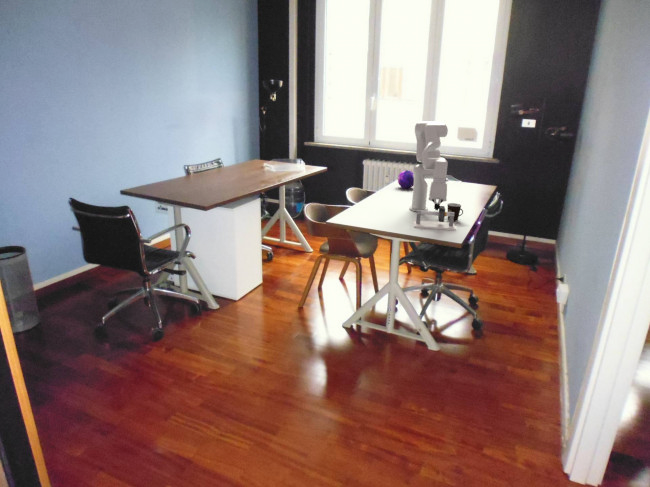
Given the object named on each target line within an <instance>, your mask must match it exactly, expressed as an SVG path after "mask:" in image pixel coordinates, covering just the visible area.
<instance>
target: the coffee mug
mask: <svg viewBox="0 0 650 487" xmlns="http://www.w3.org/2000/svg"><path fill="white" fill-rule="evenodd" d="M447 212H454V222H457V221H458V220H459V217H461V216H462V215H464V210H463V209H462V204H460V203H454V202H451V203H447ZM460 213H461V214H460ZM449 218H450V216H447V220H448V221H449Z"/></svg>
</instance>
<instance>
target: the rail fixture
mask: <svg viewBox="0 0 650 487" xmlns="http://www.w3.org/2000/svg"><path fill="white" fill-rule="evenodd" d="M439 214H440V212H439V211H436V210H435V211H434V210H427V211H421V210H417V211H416V217H415V218H416V219H415V220H413V228H417V229H430V230H431V229H432V230H443V231H444V230H446V231H457V228H456V224H455V223H454V222H455V221H454V212H448V211H445V217H448V216H450V218H449V220H448V221H447V222H446V221H444V222H439V221H432V220H431V221H429V220H421V217H422V216H434V217H435V216H436V217H438V216H439ZM445 217H444V218H445Z"/></svg>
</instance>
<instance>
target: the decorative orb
mask: <svg viewBox="0 0 650 487" xmlns="http://www.w3.org/2000/svg"><path fill="white" fill-rule="evenodd" d="M397 176H398V177H397V183H398V185H399V186H400V187H401V188H403V189H406V190H407V189H411V188H413V186H414V173H413V171H411V170H410V169H409V170H403V171H401V172H400V173H399V175H397Z"/></svg>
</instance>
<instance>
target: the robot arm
mask: <svg viewBox="0 0 650 487" xmlns="http://www.w3.org/2000/svg"><path fill="white" fill-rule="evenodd" d="M448 132H449V128H448V125H447V124H446V123H444V122H442V121H427V120H426V121H418V122H417V123H415V126H414V133H415V138H416V150H415V151H416V153H415V154H416V155H415V156H416V161H417V162H419V163H420V164H415V166H414V167H413V171H412V172H413V173H414V186H413V187H412V198H411V206H409V210H410V211H413V212H417V210H421V211H429V208H428V207H427V197H428V201H430V202H433V204H434V205H433V206H434V208H433V209H434V210H435V211H436V212H439V206H441V203H443V202H447V201H448V200H447V196H448V183H447V182H449V178H447V175H448V174H447V172H448V165H449V164H448V160H446V158H444V157H441V152H440V150H439V148H440V147H441V139H440V138H445V137H447V135H448V134H449V133H448ZM426 179H433V180H432V181H431V183H430V188H429V196H428V182H426ZM437 200H438V202H437Z"/></svg>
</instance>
